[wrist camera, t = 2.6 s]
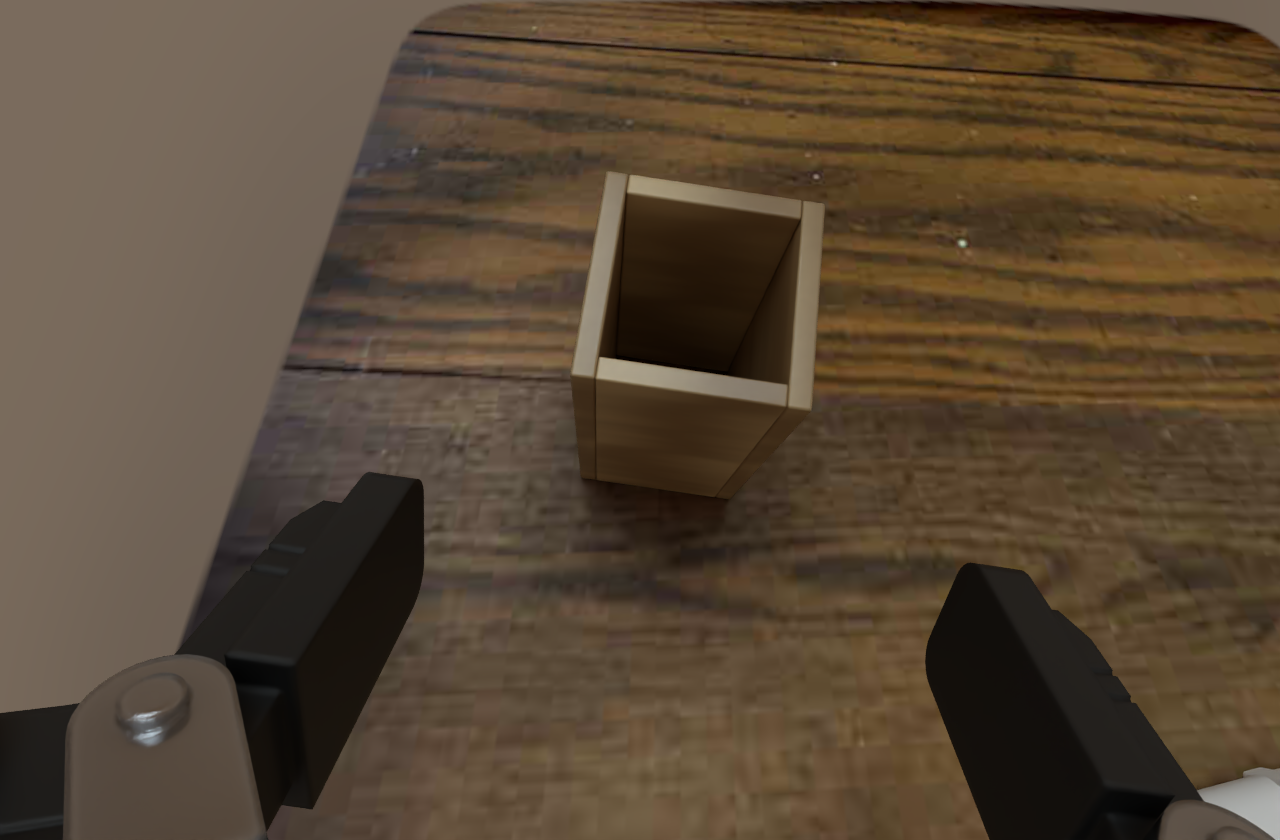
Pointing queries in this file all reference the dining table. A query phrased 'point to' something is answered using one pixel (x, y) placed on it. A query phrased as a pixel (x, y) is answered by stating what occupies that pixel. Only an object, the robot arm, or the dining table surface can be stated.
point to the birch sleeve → (694, 333)
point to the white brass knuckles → (1251, 798)
